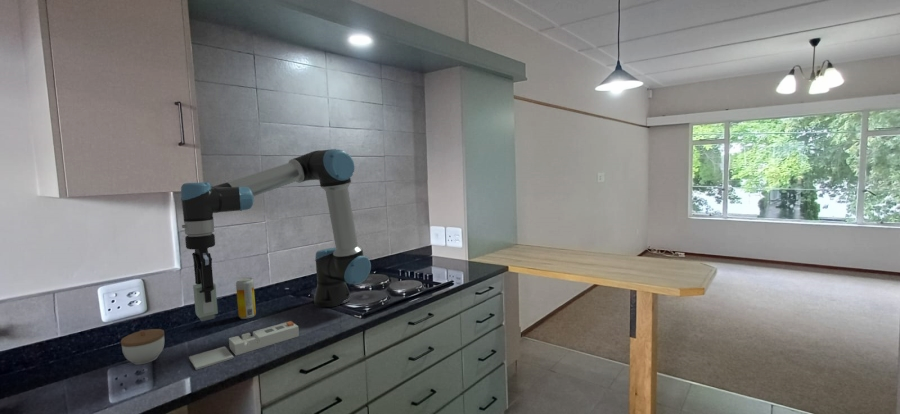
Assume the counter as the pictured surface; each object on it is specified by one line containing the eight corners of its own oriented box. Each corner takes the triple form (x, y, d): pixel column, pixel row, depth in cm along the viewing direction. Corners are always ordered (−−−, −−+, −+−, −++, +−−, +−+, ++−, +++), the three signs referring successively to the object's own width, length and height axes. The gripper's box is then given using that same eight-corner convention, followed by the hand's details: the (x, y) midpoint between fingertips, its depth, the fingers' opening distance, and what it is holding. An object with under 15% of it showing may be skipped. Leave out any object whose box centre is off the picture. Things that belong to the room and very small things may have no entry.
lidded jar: (118, 371, 119) (114, 340, 118) (129, 356, 129) (126, 327, 128) (162, 363, 123) (158, 333, 122) (170, 349, 133) (167, 321, 132)
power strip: (291, 330, 145) (290, 318, 145) (299, 336, 140) (298, 324, 140) (229, 348, 132) (228, 335, 132) (235, 355, 127) (234, 342, 126)
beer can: (250, 312, 164) (248, 276, 163) (259, 315, 161) (256, 278, 159) (235, 317, 160) (232, 280, 158) (243, 320, 156) (240, 282, 154)
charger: (214, 314, 127) (211, 281, 126) (218, 318, 124) (215, 284, 123) (196, 318, 124) (193, 285, 123) (199, 322, 121) (196, 288, 120)
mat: (225, 348, 132) (224, 346, 132) (233, 358, 125) (233, 356, 125) (189, 358, 126) (189, 356, 126) (196, 369, 118) (195, 368, 118)
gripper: (179, 232, 125) (186, 306, 128) (191, 239, 112) (198, 321, 115) (207, 229, 130) (213, 300, 133) (221, 235, 117) (227, 314, 120)
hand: (206, 309), depth 124 cm, fingers closed on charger, 4 cm apart
